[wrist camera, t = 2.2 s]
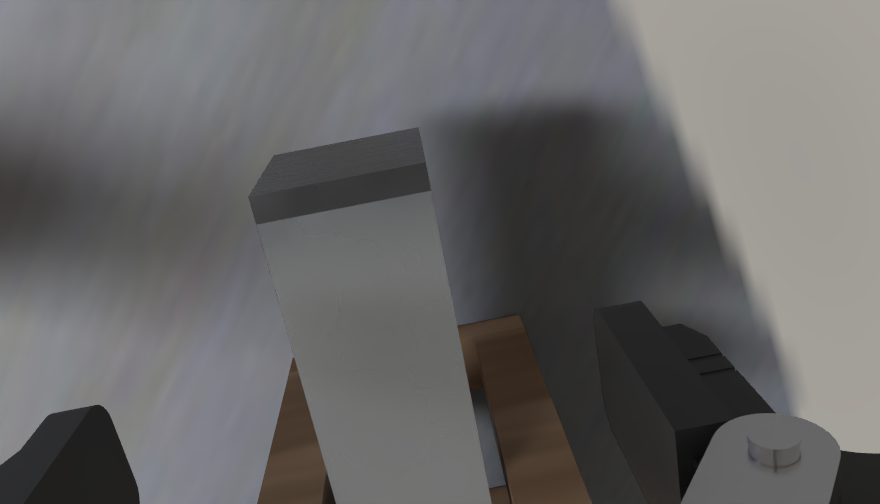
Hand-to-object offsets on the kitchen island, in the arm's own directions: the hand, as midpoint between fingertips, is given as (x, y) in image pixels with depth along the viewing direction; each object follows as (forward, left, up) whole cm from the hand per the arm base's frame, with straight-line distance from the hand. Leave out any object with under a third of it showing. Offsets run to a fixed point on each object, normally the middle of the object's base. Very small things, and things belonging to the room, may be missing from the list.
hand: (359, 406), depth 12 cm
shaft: (+6, 0, -8) cm, 10 cm away
